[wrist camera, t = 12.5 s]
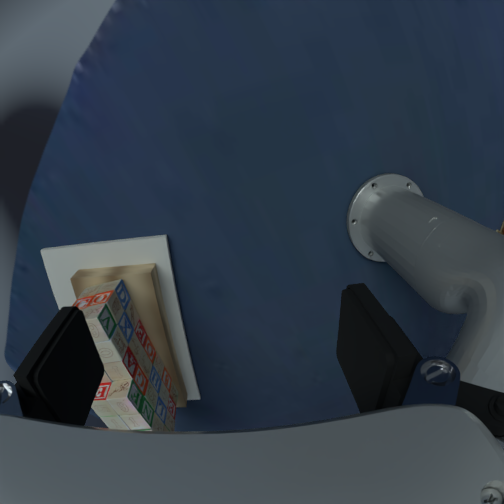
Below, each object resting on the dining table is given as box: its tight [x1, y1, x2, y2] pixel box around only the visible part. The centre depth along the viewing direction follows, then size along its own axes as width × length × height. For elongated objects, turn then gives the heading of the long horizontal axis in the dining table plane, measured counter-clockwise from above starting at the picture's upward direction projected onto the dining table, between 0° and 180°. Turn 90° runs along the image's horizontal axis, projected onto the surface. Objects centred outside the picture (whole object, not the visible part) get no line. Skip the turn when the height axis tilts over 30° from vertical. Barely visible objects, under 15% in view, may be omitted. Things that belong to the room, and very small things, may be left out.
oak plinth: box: [70, 263, 188, 407], centre depth 44 cm, size 12×25×3 cm, turn 4°
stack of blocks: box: [72, 279, 178, 432], centre depth 37 cm, size 21×6×12 cm, turn 14°
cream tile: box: [41, 235, 201, 400], centre depth 46 cm, size 20×30×1 cm, turn 4°
